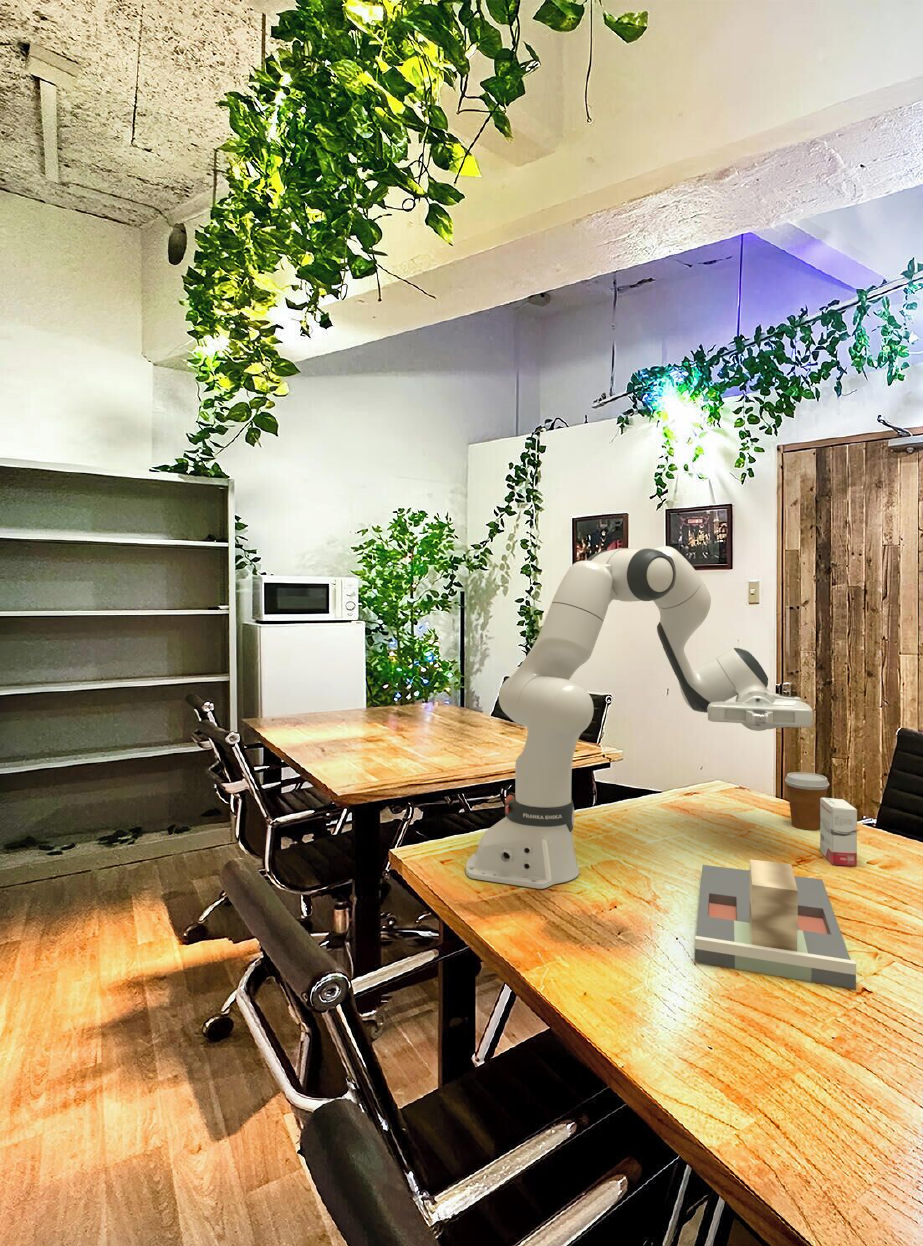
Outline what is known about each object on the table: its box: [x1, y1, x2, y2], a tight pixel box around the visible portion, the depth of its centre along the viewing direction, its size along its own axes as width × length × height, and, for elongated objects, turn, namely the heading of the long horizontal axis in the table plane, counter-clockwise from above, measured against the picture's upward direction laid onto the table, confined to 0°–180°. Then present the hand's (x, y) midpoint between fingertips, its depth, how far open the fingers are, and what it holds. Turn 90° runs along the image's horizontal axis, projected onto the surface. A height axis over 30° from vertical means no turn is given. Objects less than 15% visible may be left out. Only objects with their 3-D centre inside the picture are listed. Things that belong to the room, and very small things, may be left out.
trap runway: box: [694, 864, 857, 990], centre depth 116 cm, size 21×36×4 cm, turn 159°
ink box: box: [819, 797, 858, 867], centre depth 146 cm, size 9×5×12 cm, turn 168°
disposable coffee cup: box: [784, 771, 830, 831], centre depth 167 cm, size 10×10×12 cm
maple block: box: [749, 859, 798, 952], centre depth 106 cm, size 6×11×10 cm, turn 159°
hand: (760, 719), depth 140 cm, fingers closed
